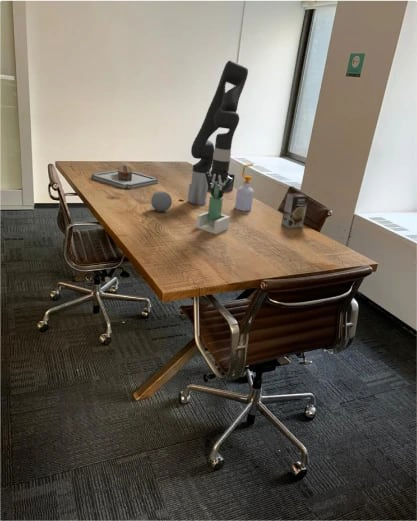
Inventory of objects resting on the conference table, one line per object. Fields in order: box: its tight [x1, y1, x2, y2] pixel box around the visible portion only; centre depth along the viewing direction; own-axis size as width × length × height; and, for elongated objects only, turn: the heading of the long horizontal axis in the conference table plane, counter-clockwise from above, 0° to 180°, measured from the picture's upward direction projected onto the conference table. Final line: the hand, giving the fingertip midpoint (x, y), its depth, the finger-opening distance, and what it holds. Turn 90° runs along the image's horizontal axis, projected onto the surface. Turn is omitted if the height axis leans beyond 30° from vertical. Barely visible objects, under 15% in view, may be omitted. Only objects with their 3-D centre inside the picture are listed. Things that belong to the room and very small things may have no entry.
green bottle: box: [207, 184, 224, 221], centre depth 203 cm, size 6×6×16 cm
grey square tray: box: [91, 165, 159, 190], centre depth 267 cm, size 30×30×8 cm
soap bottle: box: [234, 163, 255, 212], centre depth 239 cm, size 9×9×25 cm
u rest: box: [195, 211, 231, 235], centre depth 206 cm, size 11×11×6 cm
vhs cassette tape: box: [207, 173, 236, 192], centre depth 274 cm, size 18×3×10 cm, turn 108°
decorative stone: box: [150, 190, 173, 213], centre depth 220 cm, size 10×10×10 cm
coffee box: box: [281, 193, 309, 229], centre depth 223 cm, size 9×6×16 cm
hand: (216, 196), depth 202 cm, fingers closed on green bottle, 3 cm apart
